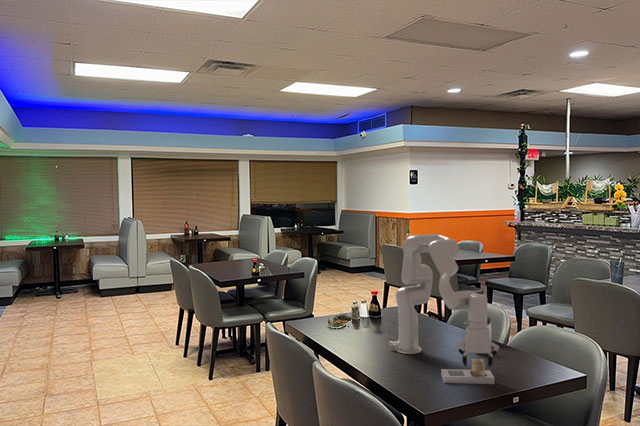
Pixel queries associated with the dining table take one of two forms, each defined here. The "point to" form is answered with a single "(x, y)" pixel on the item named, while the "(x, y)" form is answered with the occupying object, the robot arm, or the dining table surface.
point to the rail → (466, 377)
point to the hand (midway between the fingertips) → (477, 365)
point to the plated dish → (339, 320)
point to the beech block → (478, 367)
